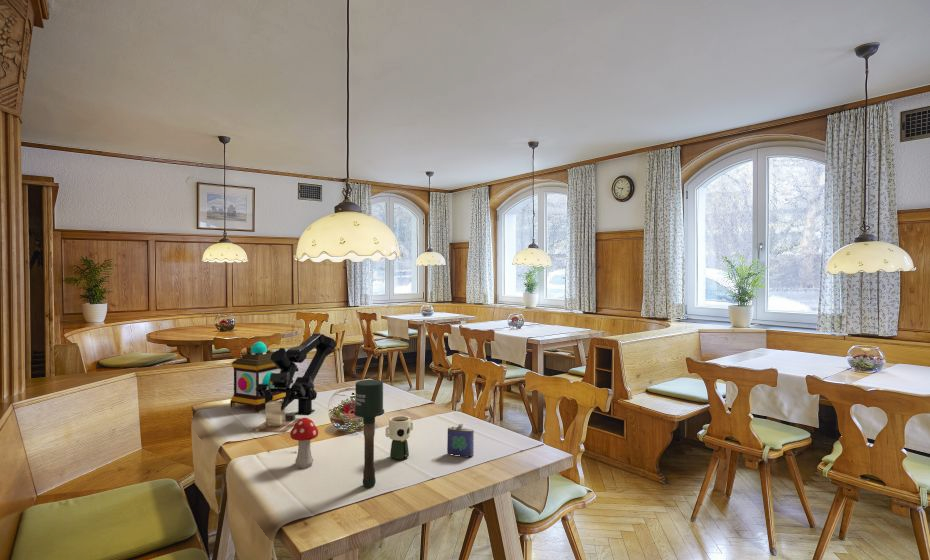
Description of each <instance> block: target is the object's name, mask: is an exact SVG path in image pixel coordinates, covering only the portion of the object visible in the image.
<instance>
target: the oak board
mask: <svg viewBox="0 0 930 560" xmlns="http://www.w3.org/2000/svg"><path fill="white" fill-rule="evenodd" d="M301 418H302V417H300V418H299V417H298V418H297V417H296V414H295V413H285V420H286V421H284V422H283V423H281V424H266V421H263V422H262V423H261V424H259V425H257V426H256V427H254V428H253V429H251V430H249V431H248V432H250V433H278V434H279V433H280V434H284V433H287V432H288V431H289V430H292V429H293V427H294V425H295V423H296V422H297V421H298V420H299V419H301Z"/></svg>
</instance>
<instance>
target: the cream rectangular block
mask: <svg viewBox="0 0 930 560" xmlns="http://www.w3.org/2000/svg"><path fill="white" fill-rule="evenodd" d="M282 403H283V401H282V400H277V401H269V402H267V403H266V409H265V422H266V424H281V423H283V422H284V421H286V420H285V414H286V408H284V409H283V410H281V406H282Z"/></svg>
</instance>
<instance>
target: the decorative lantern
mask: <svg viewBox="0 0 930 560" xmlns="http://www.w3.org/2000/svg"><path fill="white" fill-rule="evenodd" d="M273 353H274V352H271V351H270V350H268V348H267V345H266V344H265V343H264V342H263V341H256V342H255V343H253V344H252V345H251V348H250V351H248V352H247V353H246V354H244V355H243V356H241V357H237V358H236V359H235V360H233V361H232V362H231V363H230V364H231V366H232V368H233V394H232V395H233V396H232V397H231V399H230V408H231V409H234V408H235V406H236V404H240V405H247V406H252V407H254V409H255V413H258V412H259V411H260V407H261V406H263V405H264V406H265V397H262V396H260V395H259V394H258V392H257V391H256V390H255V389H256V386H257V385H258V384H268V386H269V387H274V386H273V385H272V383H273V382H270V381H269V380H270V375H271V373H280V371H281V369H279V368H278V367H277V366H276V365H275V364H274V363H273V361H272V360H271V355H272V354H273ZM271 395H272V396H273V399H272V401H284V398H285V396H286V393H275V392H272V394H271Z"/></svg>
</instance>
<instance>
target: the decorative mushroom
mask: <svg viewBox="0 0 930 560" xmlns="http://www.w3.org/2000/svg"><path fill="white" fill-rule="evenodd" d="M300 418H301V419H299V420H298V421H297V422H296V423H295V425H294V427H292V428H291V429H290V433H289V435H290V438H291V439H292V440H295V441H298V444H297V445H298V447H297V448H298V449H297V455H296V457H295V461H294V462H295V465H296V467H297V468H298V469H308V467H309V468H311V467H312V466H313V462H314V458H313V456H312V450H311V440H313V439H316V438H317V437H318V435H319V430H318V427H317V426H316V425H315V423H314V421H313V419H311V418H308V417H300Z"/></svg>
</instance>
